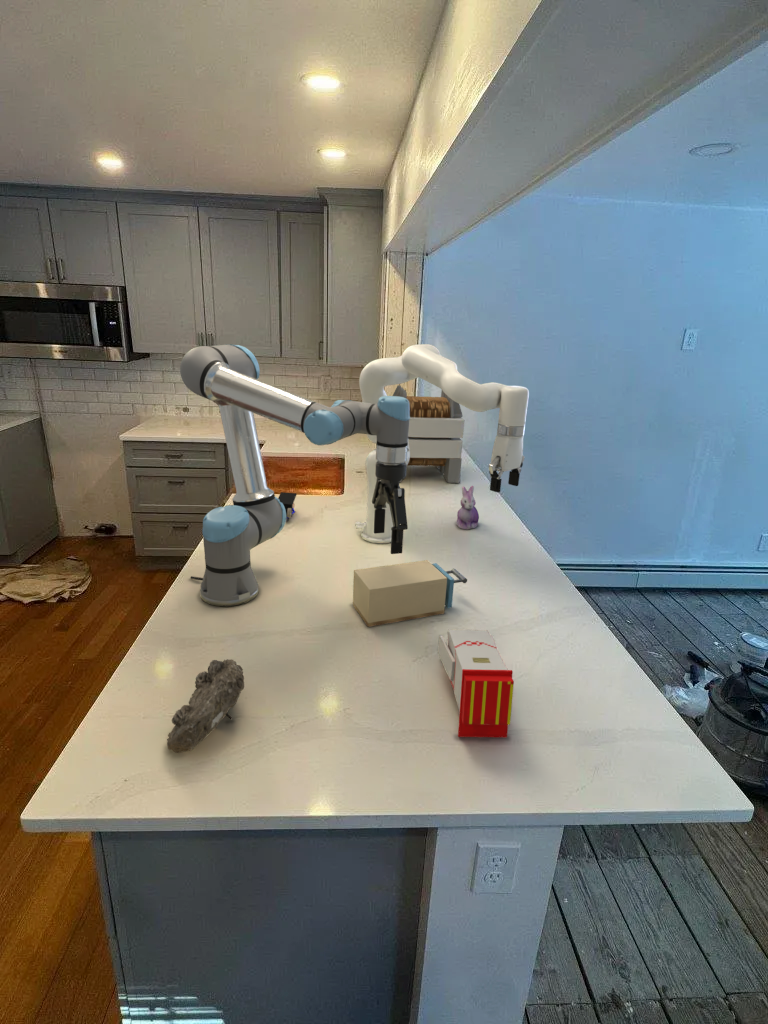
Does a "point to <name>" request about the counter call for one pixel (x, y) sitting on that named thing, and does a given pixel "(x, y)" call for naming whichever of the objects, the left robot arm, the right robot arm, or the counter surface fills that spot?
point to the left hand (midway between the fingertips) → (387, 542)
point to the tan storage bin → (398, 592)
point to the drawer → (450, 583)
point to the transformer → (435, 433)
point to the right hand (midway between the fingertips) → (504, 488)
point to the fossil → (206, 705)
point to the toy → (478, 682)
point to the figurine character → (288, 503)
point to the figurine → (467, 510)
